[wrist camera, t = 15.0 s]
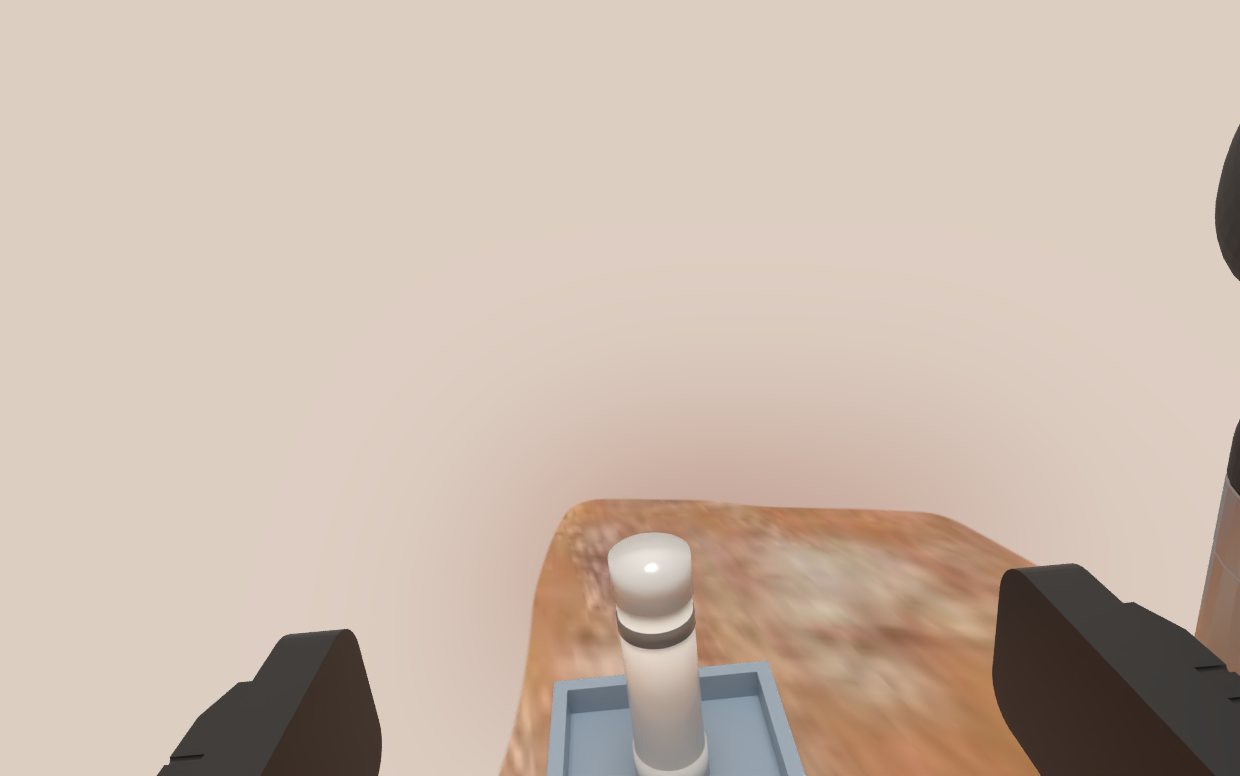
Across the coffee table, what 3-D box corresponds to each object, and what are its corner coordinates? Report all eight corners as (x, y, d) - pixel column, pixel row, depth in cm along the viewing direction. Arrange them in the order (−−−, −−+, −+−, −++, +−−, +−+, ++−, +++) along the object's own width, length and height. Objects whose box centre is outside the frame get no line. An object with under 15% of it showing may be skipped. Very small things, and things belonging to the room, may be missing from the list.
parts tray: (768, 695, 43) (767, 660, 42) (824, 873, 32) (824, 831, 31) (559, 715, 43) (554, 681, 42) (547, 900, 32) (540, 859, 31)
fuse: (704, 739, 39) (685, 528, 35) (714, 800, 35) (695, 573, 31) (634, 746, 39) (607, 537, 35) (638, 808, 35) (608, 582, 31)
